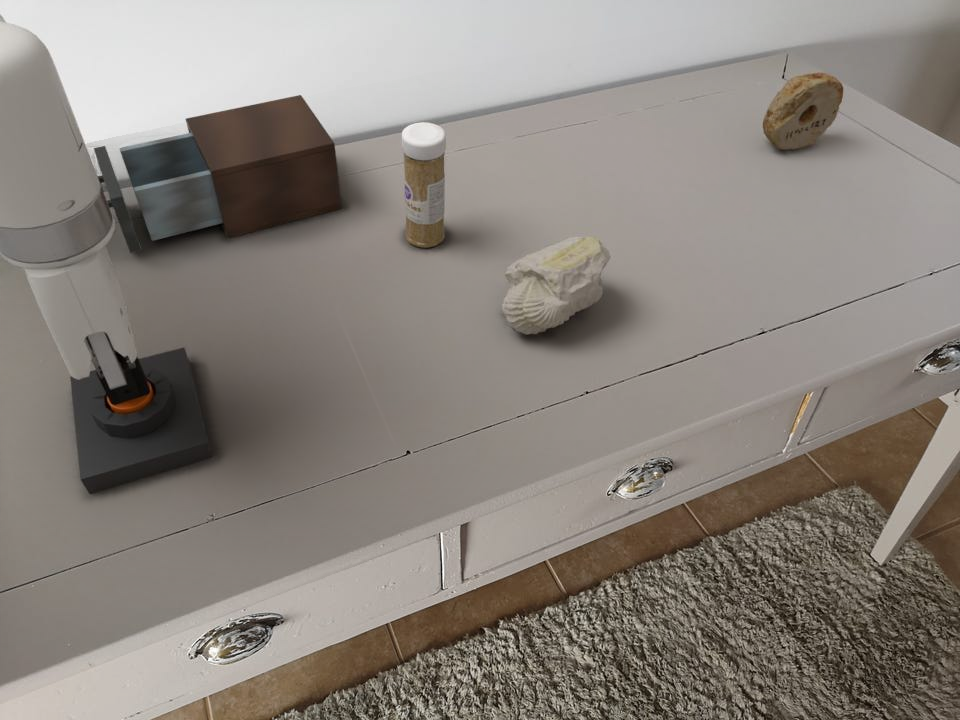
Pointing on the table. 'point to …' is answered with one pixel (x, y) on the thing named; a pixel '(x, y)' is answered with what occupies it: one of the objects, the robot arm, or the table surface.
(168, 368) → the control block
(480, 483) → the table surface
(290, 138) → the drawer cabinet
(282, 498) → the table surface
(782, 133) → the stone disc
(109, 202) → the grey drawer
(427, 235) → the sprinkles bottle
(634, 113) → the table surface
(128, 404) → the button
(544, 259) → the fossil replica
